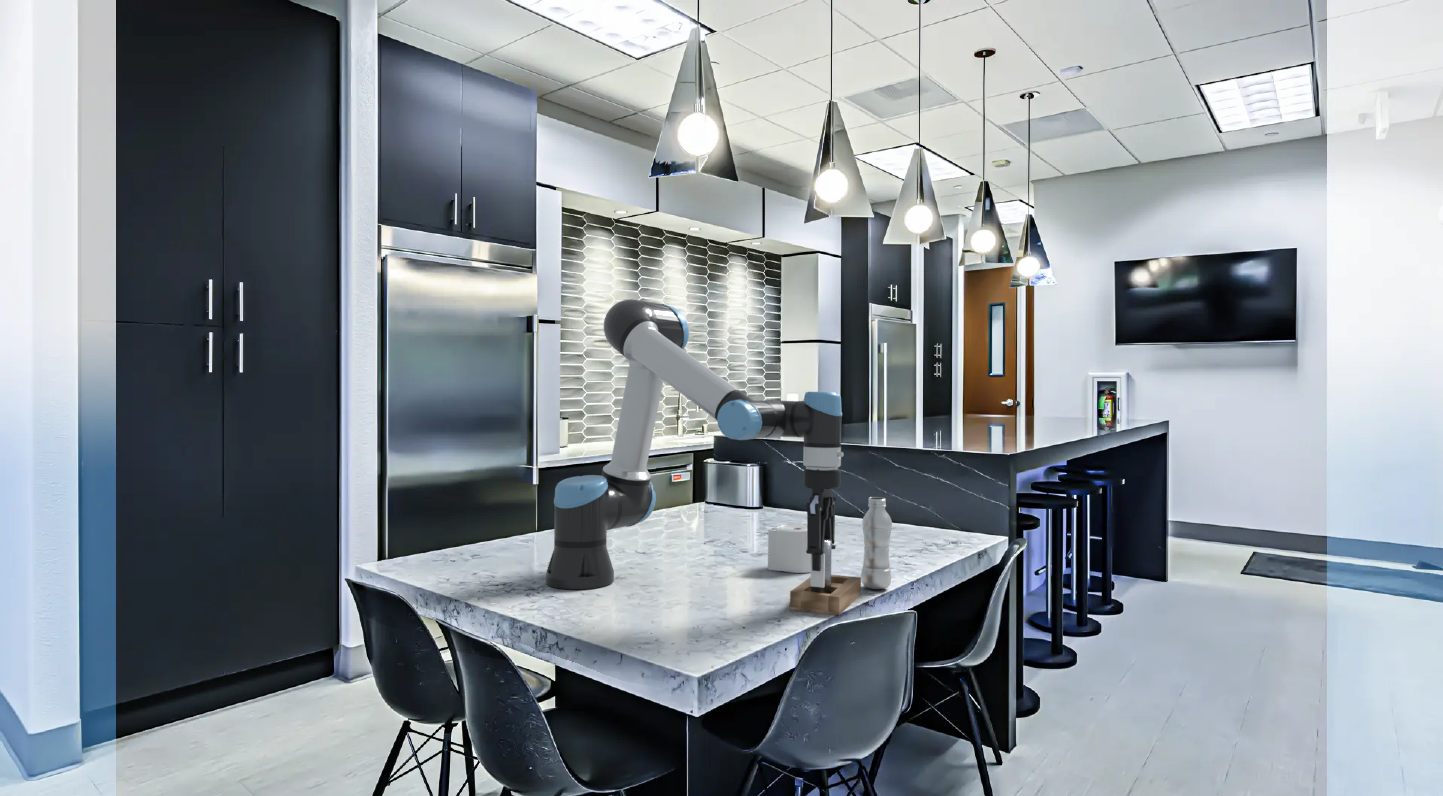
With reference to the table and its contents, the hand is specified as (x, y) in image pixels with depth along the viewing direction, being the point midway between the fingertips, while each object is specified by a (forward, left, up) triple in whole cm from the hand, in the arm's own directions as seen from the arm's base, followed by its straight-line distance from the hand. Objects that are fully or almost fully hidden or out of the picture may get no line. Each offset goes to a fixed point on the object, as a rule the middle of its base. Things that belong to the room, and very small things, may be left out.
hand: (820, 583), depth 157 cm
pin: (0, 0, -3) cm, 3 cm away
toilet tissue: (-15, +30, -5) cm, 34 cm away
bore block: (0, +4, -5) cm, 6 cm away
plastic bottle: (+7, +19, -5) cm, 21 cm away
